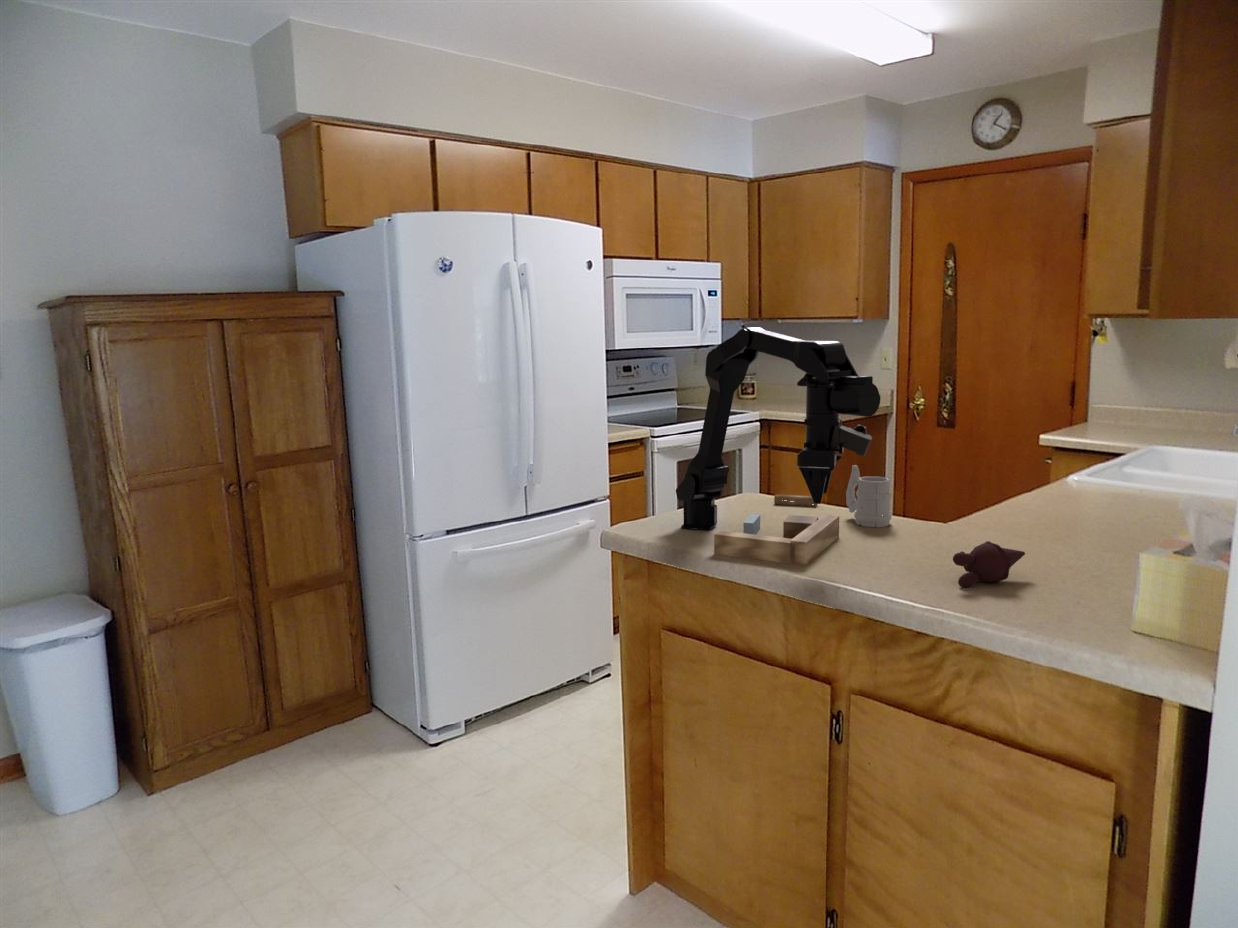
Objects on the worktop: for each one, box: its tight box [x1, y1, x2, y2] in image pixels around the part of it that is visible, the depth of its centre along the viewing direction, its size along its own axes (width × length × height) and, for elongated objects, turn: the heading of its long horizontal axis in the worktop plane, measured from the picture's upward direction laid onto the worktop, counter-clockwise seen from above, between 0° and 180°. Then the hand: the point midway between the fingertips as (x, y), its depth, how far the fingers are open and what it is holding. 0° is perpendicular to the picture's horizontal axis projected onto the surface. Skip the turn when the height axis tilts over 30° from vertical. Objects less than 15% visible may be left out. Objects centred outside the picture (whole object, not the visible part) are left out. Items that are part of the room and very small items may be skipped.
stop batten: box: [742, 513, 761, 535], centre depth 171 cm, size 2×8×3 cm, turn 160°
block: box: [782, 514, 819, 539], centre depth 166 cm, size 6×6×4 cm
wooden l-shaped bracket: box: [713, 514, 840, 566], centre depth 161 cm, size 18×22×4 cm
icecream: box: [952, 540, 1026, 588], centre depth 136 cm, size 7×7×15 cm
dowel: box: [773, 494, 818, 508], centre depth 195 cm, size 10×2×2 cm
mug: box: [845, 464, 892, 528], centre depth 177 cm, size 8×12×12 cm, turn 27°
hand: (820, 498), depth 147 cm, fingers open, 9 cm apart
